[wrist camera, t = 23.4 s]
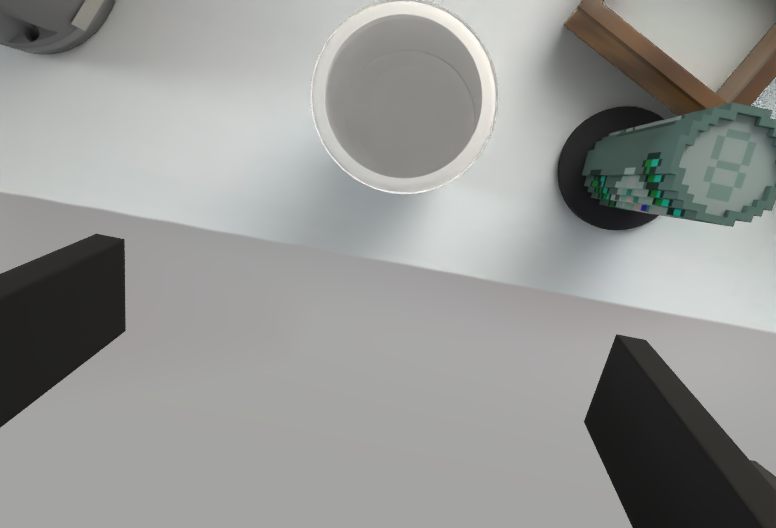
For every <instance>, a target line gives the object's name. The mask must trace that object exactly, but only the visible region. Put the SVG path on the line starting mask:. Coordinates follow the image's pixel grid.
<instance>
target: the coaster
mask: <svg viewBox="0 0 776 528" xmlns="http://www.w3.org/2000/svg"><path fill="white" fill-rule="evenodd" d="M661 120H664V119H663V118H662V117H660V116H659V115H657V114H655V113H653V112H651V111H649V110H646V109H643V108H638V107H616V108H611V109H608V110H605V111H602V112H599V113H597V114H595V115H593V116H591V117H590V118H588V119H587V120H585V121H584V122H583V123H582V124H580V125H579V126H578V127H577V128H576V129H575V130H574V131H573V133H572V134H571V135H570V137H569V138H568V140H567V141H566V143H565V145H564V147H563V149H562V152H561V155H560V159H559V163H558V183H559V188H560V191H561V194H562V196H563V199H564V201H565V202H566V204H567V205H568V207H569V208H570V209H571V210H572V212H573V213H574V214H575V215H577V216H578V217H579V218H580V219H582V220H583V221H585V222H587V223H589V224H591V225H593V226H596V227H599V228H603V229H608V230H626V229H631V228H635V227H638V226H641V225H643V224H646V223H648V222H650V221H651V220H653V219H654V218H656V217H657V216H659V215H656V214H649V213H643V212H637V211H630V210H624V209H619V208H614V207H609V206H605V205H600V204H599V203H600V199H595V198H591V195H592V193H591V192H587V191H588V187H587V186H584V183H585V180H586V176H583V175H582V172H583V168H584V165H585V161H586V157H587V154H588V151H589V150H594V147H595V144H596V142H597V141H601V140H602V138H603V137H607V136H608V134H609V133H613V132H617V131H620V130H624V129H628V128H632V127H636V126H640V125H644V124H648V123H652V122H657V121H661Z"/></svg>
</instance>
